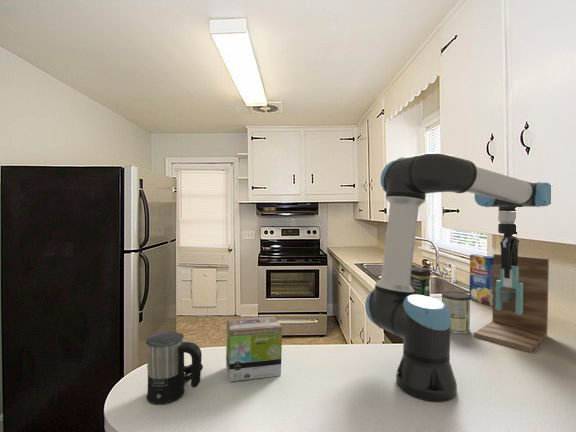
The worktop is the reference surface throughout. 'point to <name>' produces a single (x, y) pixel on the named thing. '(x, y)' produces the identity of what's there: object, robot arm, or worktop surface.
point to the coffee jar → (420, 281)
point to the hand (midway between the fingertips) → (509, 285)
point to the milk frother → (170, 367)
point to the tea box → (253, 348)
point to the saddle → (514, 286)
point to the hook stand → (534, 319)
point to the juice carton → (481, 278)
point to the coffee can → (458, 310)
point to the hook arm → (507, 295)
